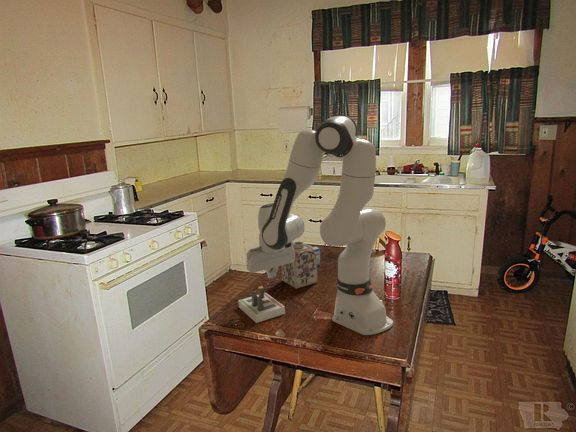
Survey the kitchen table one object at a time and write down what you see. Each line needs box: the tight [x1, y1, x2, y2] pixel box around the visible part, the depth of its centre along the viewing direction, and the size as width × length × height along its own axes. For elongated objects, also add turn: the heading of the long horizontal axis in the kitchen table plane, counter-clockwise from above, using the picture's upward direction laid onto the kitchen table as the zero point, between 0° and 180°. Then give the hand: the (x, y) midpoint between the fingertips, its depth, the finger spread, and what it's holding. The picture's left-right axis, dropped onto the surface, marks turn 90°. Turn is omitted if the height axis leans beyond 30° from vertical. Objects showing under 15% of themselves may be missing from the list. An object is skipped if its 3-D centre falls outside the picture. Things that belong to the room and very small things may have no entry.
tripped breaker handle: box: [257, 285, 265, 298], centre depth 164 cm, size 2×2×4 cm
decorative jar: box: [281, 240, 318, 289], centre depth 183 cm, size 12×12×18 cm
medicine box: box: [312, 246, 321, 267], centre depth 203 cm, size 8×4×9 cm, turn 117°
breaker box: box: [238, 292, 286, 324], centre depth 160 cm, size 15×12×7 cm
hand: (271, 277), depth 166 cm, fingers closed
